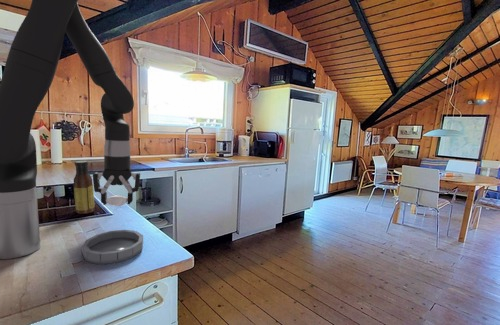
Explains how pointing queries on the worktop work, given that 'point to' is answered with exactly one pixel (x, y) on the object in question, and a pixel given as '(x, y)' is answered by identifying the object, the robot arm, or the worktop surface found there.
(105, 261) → the round dish
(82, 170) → the sauce bottle
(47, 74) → the robot arm
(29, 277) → the worktop surface
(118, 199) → the dumpling
